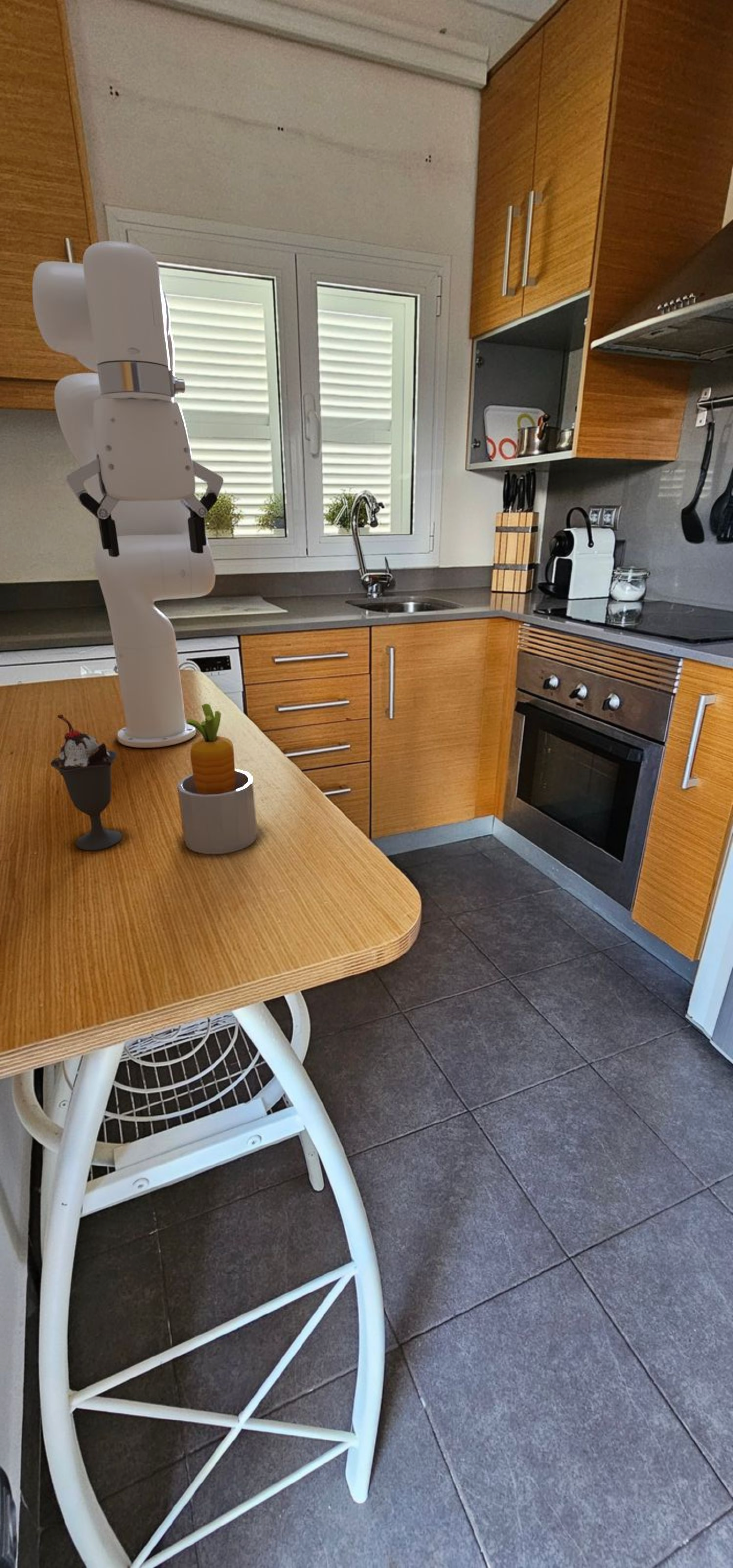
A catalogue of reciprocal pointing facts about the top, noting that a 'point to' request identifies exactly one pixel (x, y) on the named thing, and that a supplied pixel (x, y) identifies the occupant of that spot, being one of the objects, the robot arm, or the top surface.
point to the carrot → (212, 756)
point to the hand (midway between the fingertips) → (156, 554)
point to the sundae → (88, 783)
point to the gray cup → (218, 816)
